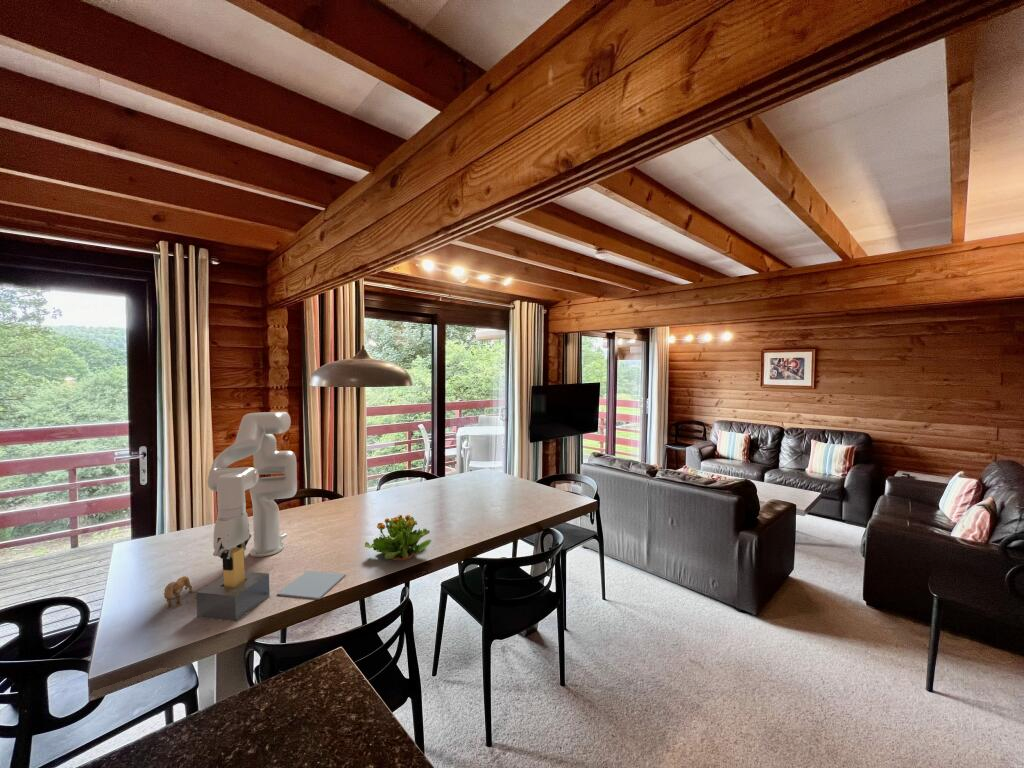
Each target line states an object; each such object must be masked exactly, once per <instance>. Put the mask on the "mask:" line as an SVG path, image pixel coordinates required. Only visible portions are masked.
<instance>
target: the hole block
mask: <svg viewBox="0 0 1024 768" xmlns="http://www.w3.org/2000/svg"><path fill="white" fill-rule="evenodd" d="M244 572H245V581H244V582H243V583H241V584H240V585H238V586H237V587H235V588H232V587H224V575H223V576H221V577H219V578H217V579H216V580H215V581H213V582H211V583H209V584H208V585H206V586H204V587H203V588H201V589H199V590H198V591H196V592H195V593H196V594H195V596H196V598H195V599H196V617H197V618H201V617H203V619H210V618H213V619H212V620H219V619H221V620H220V621H228V620H230V621H229V622H238V621H239V620H241V618H243V617H244V616H246V615H247V614H248V613H250V612H251V611H252V610H254V609H255V608H256V607H258V605H260V604H261V603H263V602H264V601H265V600H267V599H268V598H269V597H270V573H267V572H258V571H257V572H255V571H245V570H244ZM246 613H247V614H246ZM242 616H243V617H242Z"/></svg>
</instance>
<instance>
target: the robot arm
mask: <svg viewBox="0 0 1024 768" xmlns="http://www.w3.org/2000/svg"><path fill="white" fill-rule="evenodd" d="M291 419H292V418H291V416H290V414H289V413H288V412H287V411H268V412H266V411H263V412H250V413H246V414H245V415H243V416H242V419H241V420H240V425H239V428H238V431H237V434H236V437H235V441H234V442H233V444H231V445H230V446H228V447H227V448H226V449H224V450H222V451H221V452H220V453H219V454H218V455H217V456H216V457H215V458H214V460H213V462H212V464H211V468H210V470H209V473H208V476H207V487H208V488H209V490H211V491H213V492H216V499H217V500H216V501H217V519H216V520H215V523H214V528H213V543H212V544H213V550H214V551H213V553H212V555H213V556H215V557H219V558H220V559H222V570H223V571H224V570H230V571H231V570H232V569H233V560H232V558H231V551H232V548H234V547H238V548H244V551H246V550H247V549H246V548H247V545H248V544H249V543H248V542H249V541H250V540H251V538H252V534H251V533H250V521H249V520H250V519H249V516H248V513H247V511H246V510H247V509H246V508H247V503H246V491H248V490H249V494H250V498H251V503H252V504H251V505H252V522H253V547H252V548H251V549H250V550H249V555H250V556H251V557H255V558H256V557H257V558H260V557H261V558H264V557H267V556H272V555H275V554H278V553H279V552H281V551H283V549H284V548H285V544H284V542H282V541H283V540H284V539H286V538H287V537H288V536H287V533H285V532H284V533H282V534H280V508H279V506H278V504H277V503H276V501H275V500H279V499H289V498H293V497H295V495H297V490H298V474H297V473H298V472H297V471H298V468H297V466H298V465H297V456H296V454H295V452H294V451H291V450H278V449H277V448H278V447H277V438H276V436H275V435H277V434H280V435H281V434H284V433H287V432H288V431H289V429H290V427H291V424H292V421H291ZM251 456H253V457H252V458H253V467H251V466H241V467H229V466H230V465H232V464H234V463H237V462H239V461H242V460H244V459H247V458H249V457H251ZM274 474H283V475H279V476H265V477H260V475H274ZM225 551H227V554H226V553H225ZM245 562H246V561H245V557H244V563H245Z"/></svg>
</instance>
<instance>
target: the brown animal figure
mask: <svg viewBox="0 0 1024 768" xmlns="http://www.w3.org/2000/svg"><path fill="white" fill-rule="evenodd" d="M184 587H185V588H184ZM183 589H184V590H185V591H187V590H188V591H187V593H192V592H193V587H192V584H191V582H190V578H189V577H188V576H182V577H179V578H178V579H177V580H176V581H171V582H170V583H168V584H167V585H166V587H165V589H164V592H163V595H164V599H165V600H166V603H167V605H166V607H165V608H166V609H170V608H171V607H172V601H174V600H176V602H175V603H176V606H177V607H180V606H182V603H181V598H182V595H181V593H182V591H183Z"/></svg>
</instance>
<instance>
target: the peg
mask: <svg viewBox="0 0 1024 768" xmlns="http://www.w3.org/2000/svg"><path fill="white" fill-rule="evenodd" d="M225 553H226V554H227V551H225ZM231 558H232V560H233V569H232V570H231V571H230V570H223V576H224V587H232V588H235V587H237V586H238V585H240V584H241V583H243V582H244V581H245V572H244V571H245V562H244V558H245V550H244V548H238V547H234V548H232V551H231Z"/></svg>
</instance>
